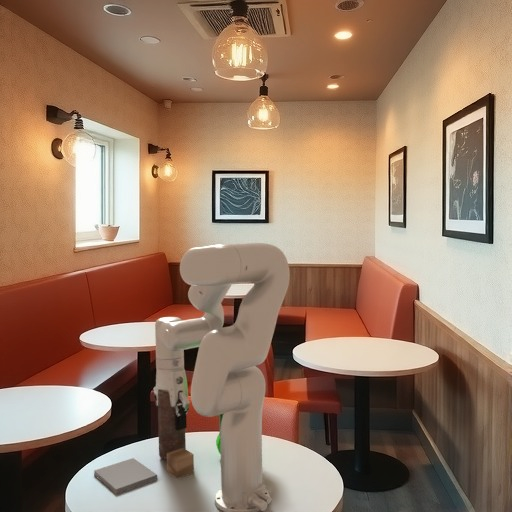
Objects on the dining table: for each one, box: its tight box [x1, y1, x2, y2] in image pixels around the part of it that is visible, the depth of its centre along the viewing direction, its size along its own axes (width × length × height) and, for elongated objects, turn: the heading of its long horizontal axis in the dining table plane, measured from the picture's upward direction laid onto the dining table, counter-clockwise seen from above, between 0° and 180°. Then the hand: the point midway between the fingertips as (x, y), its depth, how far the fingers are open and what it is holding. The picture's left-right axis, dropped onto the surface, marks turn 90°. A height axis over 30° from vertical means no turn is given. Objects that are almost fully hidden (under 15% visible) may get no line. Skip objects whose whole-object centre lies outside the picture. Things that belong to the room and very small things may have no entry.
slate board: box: [93, 457, 158, 495], centre depth 133 cm, size 13×11×1 cm
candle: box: [157, 390, 187, 460], centre depth 144 cm, size 8×7×20 cm
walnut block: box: [166, 448, 195, 479], centre depth 136 cm, size 5×5×5 cm
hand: (171, 424), depth 144 cm, fingers open, 9 cm apart
